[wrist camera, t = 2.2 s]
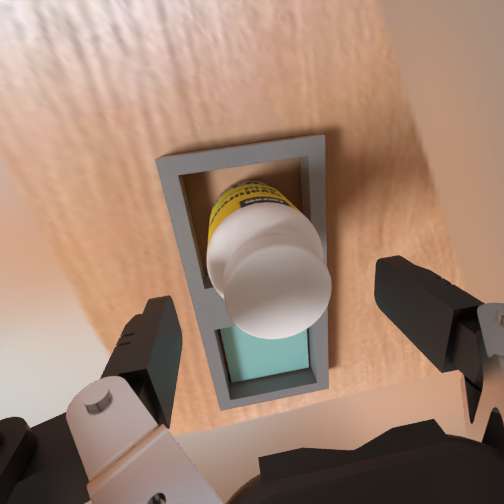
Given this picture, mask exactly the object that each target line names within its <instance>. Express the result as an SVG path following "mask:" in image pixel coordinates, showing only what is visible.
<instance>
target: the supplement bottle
mask: <svg viewBox="0 0 504 504" xmlns="http://www.w3.org/2000/svg"><path fill="white" fill-rule="evenodd" d="M207 269H208V274H209V277H210V280H211V282H212V284H213V286H214V288H215V289H216V291H217V292H218V293H219V295H220V296H221V297H222V298H223V299H224V301H225V307H226V310H227V312H228V315H229V316H230V318H231V320H232V321H233V322H234V323H235V325H236V326H237V327H239V328H240V329H241V330H243V331H244V332H246V333H248V334H250V335H252V336H255V337H258V338H264V339H281V338H286V337H290V336H293V335H296V334H298V333H300V332H302V331H304V330H306V329H307V328H309V327H310V326H312V325H313V324H314V323H315V322H316V321H317V320H318V319H319V318H320V317H321V315H322V314H323V313H324V311H325V309H326V308H327V306H328V303H329V301H330V297H331V291H332V283H331V277H330V274H329V271H328V269H327V267H326V265H325V263H324V262H323V247H322V243H321V240H320V237H319V235H318V233H317V231H316V229H315V228H314V226H313V225H312V223H311V222H310V221H309V220H308V219H307V218H306V217H305V216H304V215H303V214H302V213H301V212H300V211H299V210H298V209H297V208H296V207H295V206H294V205H293V204H292V203H291V202H290V201H289V200H288V199H287V198H285V197H284V196H283V195H282V194H281V193H280V192H279V191H278V190H277V189H275V188H274V187H272V186H270V185H268V184H266V183H263V182H260V181H243V182H239V183H236V184H234V185H232V186H230V187H228V188H227V189H225V190H224V191H223V192H222V193H221V194H220V195H219V196H218V198H217V199H216V201H215V203H214V205H213V207H212V210H211V215H210V222H209V234H208V247H207Z"/></svg>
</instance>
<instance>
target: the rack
mask: <svg viewBox="0 0 504 504" xmlns="http://www.w3.org/2000/svg"><path fill="white" fill-rule="evenodd" d="M298 157H300V170H301V189H302V209H303V215H304V216H305V217H306V218H307V219H308V220H309V221H310V222H311V223H312V225H313V226H314V228H315V229H316V231H317V233H318V235H319V237H320V240H321V243H322V247H323V262H324V263H325V265H326V267H327V232H326V161H325V135H316V134H314V135H307V136H300V137H293V138H286V139H279V140H272V141H265V142H258V143H251V144H244V145H237V146H230V147H223V148H216V149H209V150H202V151H195V152H188V153H181V154H174V155H167V156H161V157H159V158H157V159H155V161H156V165H157V169H158V172H159V176H160V180H161V184H162V188H163V192H164V195H165V199H166V203H167V207H168V211H169V215H170V219H171V222H172V226H173V230H174V234H175V238H176V242H177V245H178V249H179V253H180V257H181V261H182V265H183V268H184V272H185V276H186V280H187V284H188V288H189V291H190V295H191V299H192V303H193V307H194V311H195V314H196V318H197V322H198V326H199V330H200V334H201V338H202V341H203V345H204V349H205V353H206V357H207V361H208V364H209V368H210V372H211V376H212V380H213V384H214V387H215V391H216V395H217V399H218V403H219V407H220V410H221V411H222V410H227V409H232V408H237V407H241V406H246V405H251V404H256V403H261V402H266V401H271V400H276V399H280V398H285V397H290V396H295V395H300V394H305V393H310V392H315V391H319V390H324V389H329V372H328V306H327V308H326V309H325V311H324V313H323V314H322V315H321V317H320V318H319V319H318V320H317V321H316V322H315V323H314V324H313V325H312V326H310V327H309V346H310V365H311V366H310V367H309V362H308V343H307V329H306V330H304V331H302V332H300V333H298V334H296V335H293V336H290V337H286V338H281V339H264V338H258V337H255V336H252V335H250V334H248V333H246V332H244V331H243V330H241V329H240V328H239V327H237V326H236V325H235V323H234V322H233V321H232V320H231V318H230V316H229V315H228V312H227V310H226V307H225V301H224V299H223V298H222V297H221V296H220V295H219V293H218V292H217V291H216V289H215V288H214V286H213V284H212V282H211V280H210V277H209V276H205V273H204V269H203V264H202V260H201V255H200V251H199V247H198V242H197V238H196V233H195V229H194V224H193V220H192V216H191V211H190V207H189V202H188V198H187V194H186V189H185V185H184V180H183V176H182V175H183V174H190V173H197V172H204V171H210V170H217V169H224V168H231V167H237V166H244V165H251V164H258V163H264V162H271V161H278V160H285V159H291V158H298ZM217 329H220V332H221V336H222V341H223V345H224V350H225V354H226V359H227V363H228V368H229V372H230V377H231V381H232V382H229V379H228V375H227V370H226V366H225V361H224V357H223V353H222V348H221V344H220V339H219V335H218V331H217Z"/></svg>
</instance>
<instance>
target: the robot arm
mask: <svg viewBox="0 0 504 504" xmlns="http://www.w3.org/2000/svg"><path fill="white" fill-rule="evenodd" d="M374 296H375V301H376V303H377V305H378V307H379V308H380V310H381V311H382V312H383V313H384V314H385V315H386V316H387V317H388V318H389V319H390V320H391V321H392V322H393V323H394V324H395V325H396V326H397V327H398V328H399V329H400V330H401V331H402V332H403V333H404V334H405V335H406V336H407V338H408V339H409V340H410V341H411V342H412V343H413V344H414V345H415V346H416V347H417V348H418V349H419V350H420V351H421V352H422V353H423V354H424V355H425V356H426V357H427V358H428V359H429V360H430V361H431V362H432V363H433V364H434V365H435V366H436V367H437V369H438V370H439V371H440V372H441V373H444V372H449V371H454V370H459V371H461V372H462V377H461V391H462V400H463V408H464V417H465V426H466V438H465V437H461V436H455V435H448V434H445V432H444V431H443V430H442V429H441V427H440V426H439V425H438V423H437V422H436V421H435V420H434V419H431V420H427V421H422V422H418V423H413V424H408V425H404V426H400V427H395V428H392V429H390V430H388V431H386V432H385V433H383V434H381V435H380V436H378V437H376V438H375V439H373V440H371V441H369V442H368V443H366V444H364V445H363V446H361V447H359V448H357V449H355V450H332V449H316V448H299V449H295V450H290V451H286V452H281V453H277V454H272V455H268V456H263V457H259V458H258V459H259V466H260V473H261V474H259V475H257V476H256V477H254V478H252V479H251V480H249V482H247V483H246V484H245V485H243V486H242V487H241V488H240V489H239V490H238V491H237V492H235V494H233V496H232V497H231V498H230V499H229V500H228V502H227V503H226V504H504V304H503V303H487V304H485V303H483V302H481V301H480V300H478V299H476V298H475V297H473V296H471V295H470V294H468V293H467V292H465V291H463V290H462V289H460V288H458V287H457V286H455V285H454V284H453V285H451V283H450V282H449V281H447V280H445V279H442V278H441V277H440V276H439V275H437V274H436V273H434V272H432V271H431V270H428V269H425V268H422V267H419V266H416V265H414V264H413V263H411V262H409V261H408V260H406V259H405V258H403V257H402V256H399V255H397V256H392V257H386V258H380V259H378V260H377V262H376V272H375V290H374ZM116 345H117V347H115V349H114V351H113V353H112V355H111V357H110V359H109V361H108V363H107V365H106V367H105V370H104V372H103V374H102V376H101V378H100V379H99V380H97V381H95V382H93V383H91V384H90V385H88V386H87V387H85V388H84V389H83V390H82V391H80V392H79V393H78V394H77V395H76V396H75V397H74V399H73V400H72V402H71V403H70V404H69V406H68V409H67V412H65V413H63V414H61V415H59V416H56V417H54V418H52V419H50V420H48V421H45V422H43V423H41V424H39V425H36V426H34V427H32V428H30V427H29V426H28V424H27V423H26V421H25V420H24V419H23V418H20V417H10V418H6V419H2V420H0V504H84V503H86V502H88V501H90V500H91V502H92V504H223V502H222V501H221V500H220V498H219V497H218V496H217V494H216V493H215V492H214V490H213V489H212V488H211V486H210V485H209V484H208V482H207V481H206V480H205V478H204V477H203V476H202V474H201V473H200V472H199V470H198V469H197V468H196V466H195V465H194V464H193V462H192V461H191V460H190V458H189V457H188V456H187V454H186V453H185V452H184V450H183V449H182V448H181V446H180V445H179V444H178V442H177V441H176V440H175V439H174V437H173V436H172V434H171V433H170V432H169V430H168V429H169V428H170V422H171V415H172V409H173V402H174V396H175V389H176V383H177V376H178V370H179V363H180V357H181V351H182V332H181V328H180V324H179V321H178V317H177V314H176V310H175V307H174V303H173V300H172V298H171V296H163V297H157V298H152V299H149V300H148V302H147V304H146V307H145V309H144V312H143V314H138V315H135V316H134V317H133V318H132V319H131V320H130V321H129V322H128V323H127V324H126V325H125V327H124V330H123V332H122V334H121V338H119V340H118V342H117V344H116Z"/></svg>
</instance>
